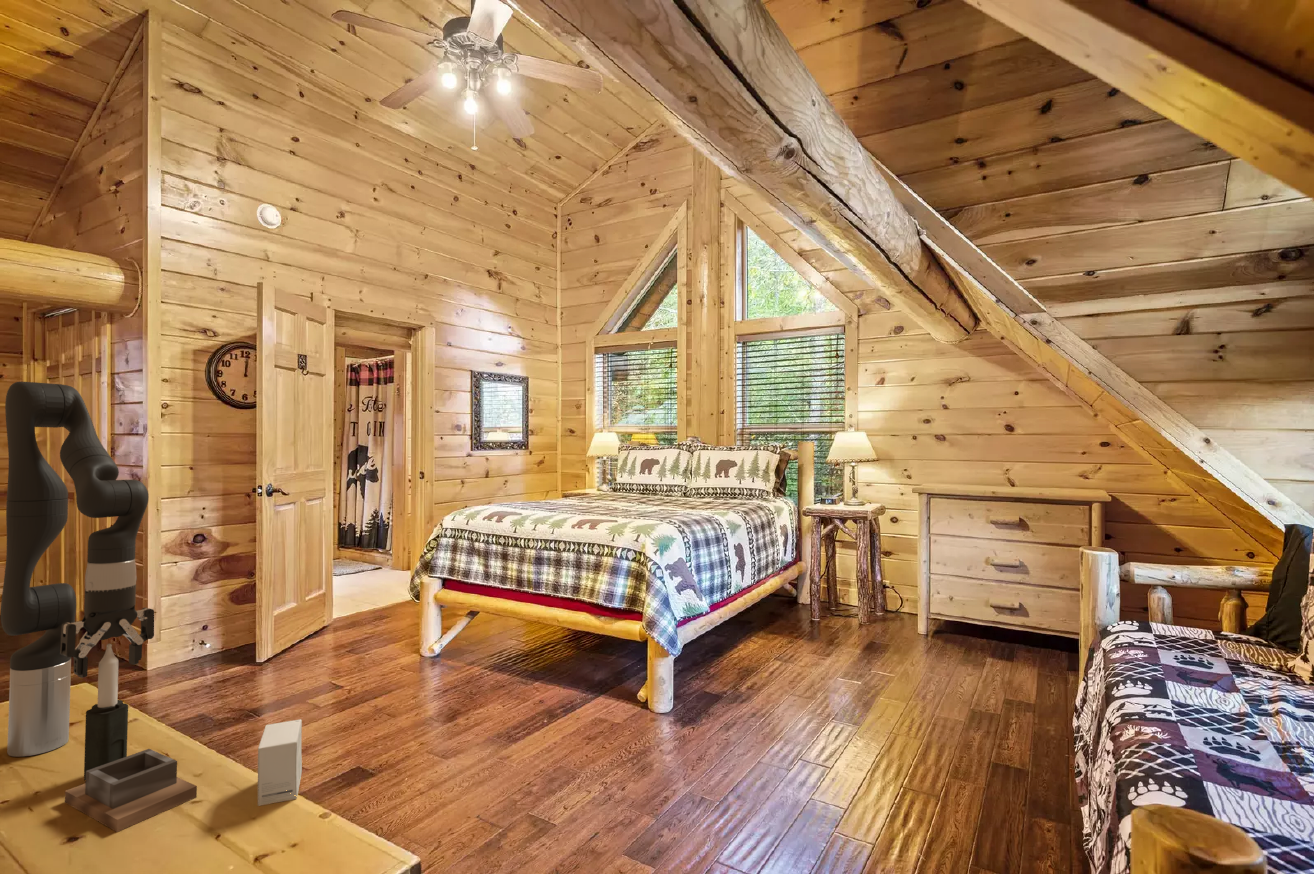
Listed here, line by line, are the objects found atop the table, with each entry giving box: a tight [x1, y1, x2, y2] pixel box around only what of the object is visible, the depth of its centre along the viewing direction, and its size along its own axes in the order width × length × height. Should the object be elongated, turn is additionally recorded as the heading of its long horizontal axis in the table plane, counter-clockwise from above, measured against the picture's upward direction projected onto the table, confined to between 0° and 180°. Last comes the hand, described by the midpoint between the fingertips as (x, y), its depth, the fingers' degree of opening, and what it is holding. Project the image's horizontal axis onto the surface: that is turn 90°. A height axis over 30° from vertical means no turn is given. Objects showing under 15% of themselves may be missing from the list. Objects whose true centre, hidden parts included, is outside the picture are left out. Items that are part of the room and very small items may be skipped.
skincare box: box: [257, 718, 303, 807], centre depth 121 cm, size 10×6×10 cm, turn 24°
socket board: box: [64, 748, 198, 833], centre depth 116 cm, size 18×12×6 cm, turn 63°
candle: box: [83, 643, 129, 781], centre depth 124 cm, size 5×5×25 cm
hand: (108, 669), depth 124 cm, fingers open, 7 cm apart
